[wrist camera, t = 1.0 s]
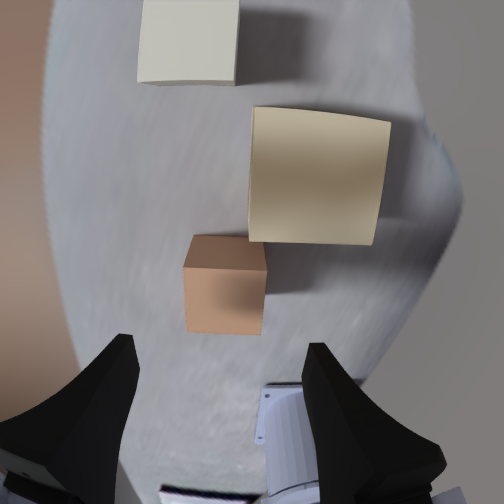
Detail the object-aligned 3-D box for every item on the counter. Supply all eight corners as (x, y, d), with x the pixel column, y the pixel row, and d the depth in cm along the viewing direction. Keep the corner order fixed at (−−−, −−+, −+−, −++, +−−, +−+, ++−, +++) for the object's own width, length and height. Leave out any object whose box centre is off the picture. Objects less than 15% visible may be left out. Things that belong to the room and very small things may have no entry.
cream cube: (235, 86, 15) (233, 80, 11) (160, 86, 15) (137, 82, 11) (240, 17, 13) (240, -7, 10) (164, 18, 13) (144, -3, 10)
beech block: (348, 217, 19) (371, 245, 15) (247, 212, 18) (249, 241, 15) (360, 116, 16) (391, 122, 12) (252, 106, 16) (255, 106, 12)
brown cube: (257, 294, 21) (260, 335, 17) (195, 291, 20) (186, 332, 17) (262, 237, 19) (267, 270, 15) (193, 234, 19) (182, 267, 15)
